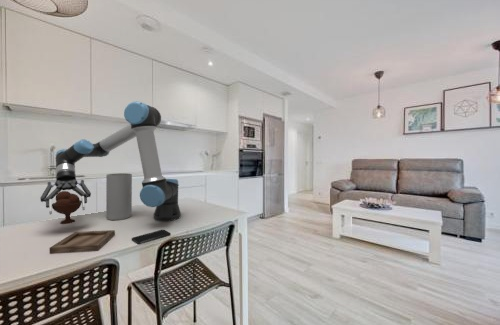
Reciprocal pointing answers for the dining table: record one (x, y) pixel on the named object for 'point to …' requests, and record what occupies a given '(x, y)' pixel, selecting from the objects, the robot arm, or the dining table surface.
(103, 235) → the walnut tray
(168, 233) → the phone
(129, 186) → the cylinder vase
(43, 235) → the dining table surface
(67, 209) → the ice cream bowl
